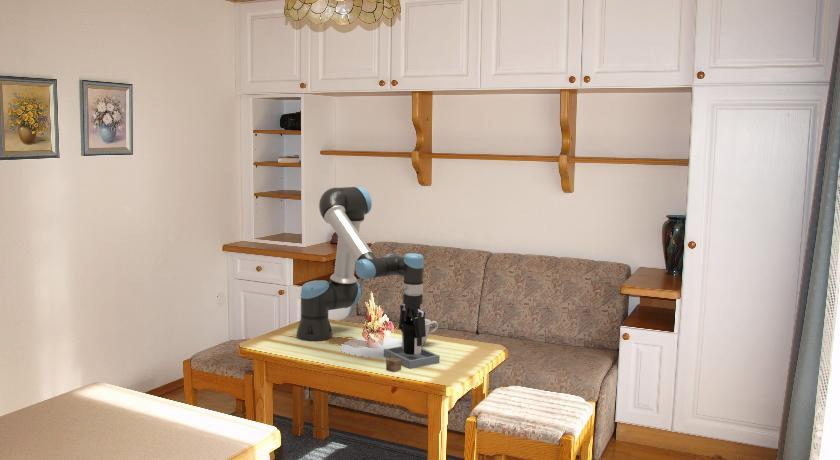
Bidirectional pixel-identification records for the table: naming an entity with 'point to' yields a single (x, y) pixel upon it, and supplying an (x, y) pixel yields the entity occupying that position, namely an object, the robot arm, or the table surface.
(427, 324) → the teacup
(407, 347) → the cup
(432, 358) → the tray
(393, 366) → the walnut block
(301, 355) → the table surface
